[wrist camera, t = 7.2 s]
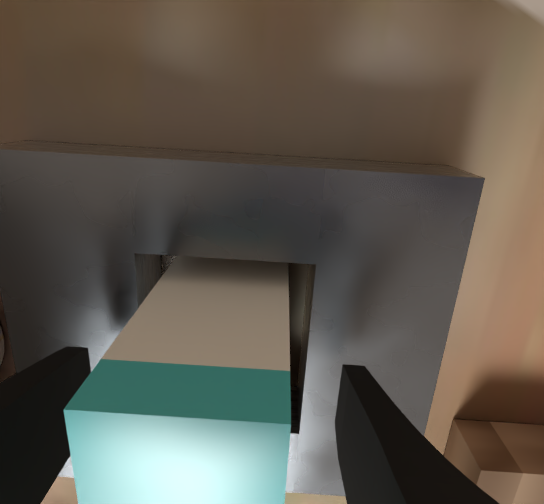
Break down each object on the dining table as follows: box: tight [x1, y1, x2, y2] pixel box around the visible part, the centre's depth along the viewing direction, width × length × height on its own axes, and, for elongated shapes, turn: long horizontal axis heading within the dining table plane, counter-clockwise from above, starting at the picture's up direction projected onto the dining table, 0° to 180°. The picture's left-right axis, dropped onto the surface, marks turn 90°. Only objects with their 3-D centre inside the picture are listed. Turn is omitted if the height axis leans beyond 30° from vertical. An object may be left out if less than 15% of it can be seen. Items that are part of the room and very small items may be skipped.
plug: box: [64, 256, 291, 504], centre depth 12 cm, size 4×5×8 cm
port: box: [0, 141, 485, 496], centre depth 14 cm, size 14×12×2 cm
